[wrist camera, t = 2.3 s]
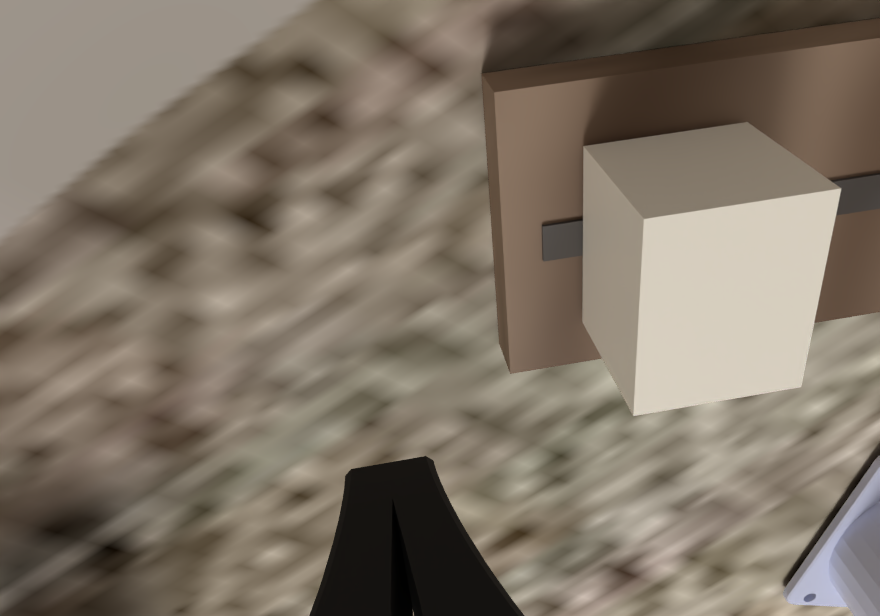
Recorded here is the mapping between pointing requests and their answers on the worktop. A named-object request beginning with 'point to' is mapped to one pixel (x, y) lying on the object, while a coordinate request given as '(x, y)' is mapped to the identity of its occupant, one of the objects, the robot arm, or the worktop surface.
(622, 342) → the slider tab
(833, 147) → the fader board
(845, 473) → the worktop surface
